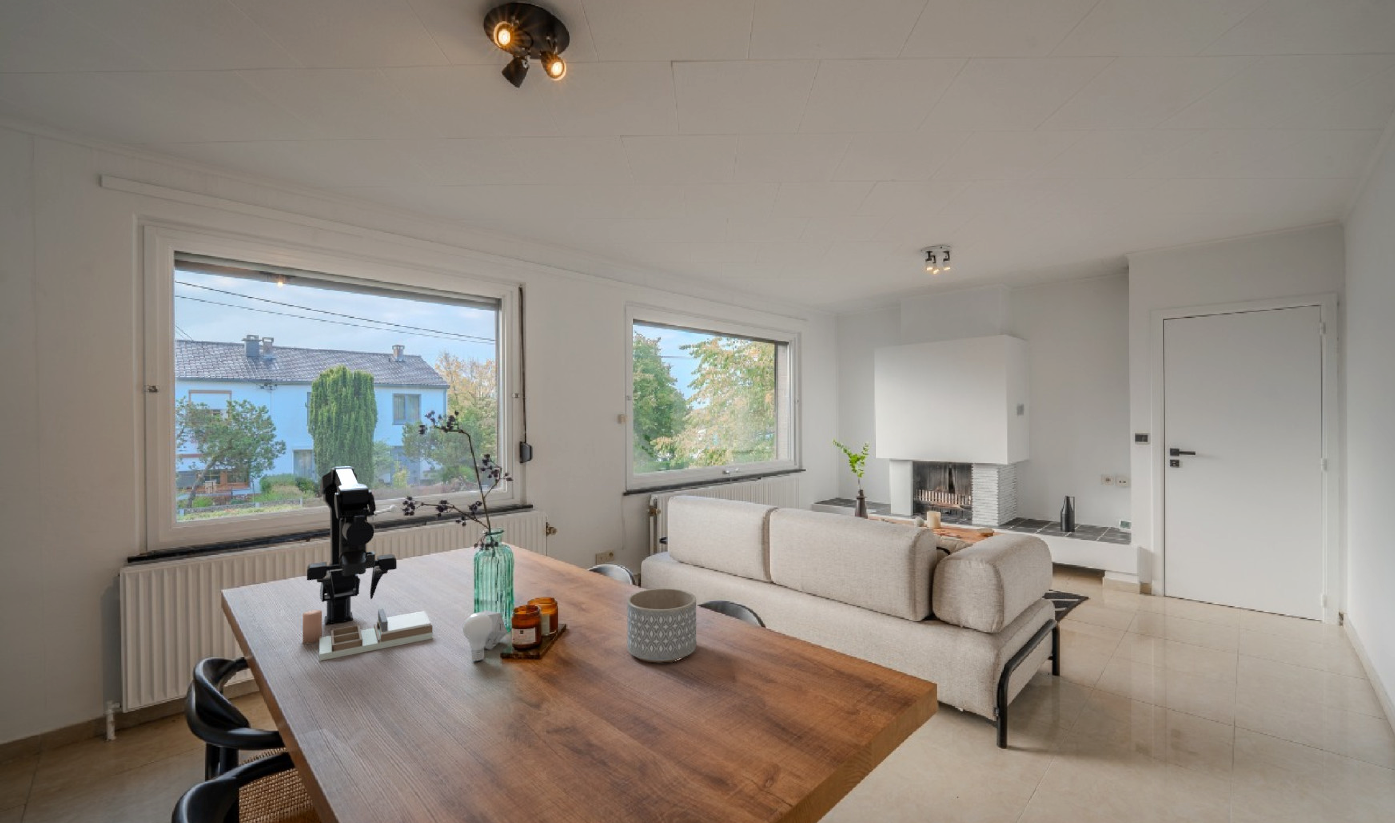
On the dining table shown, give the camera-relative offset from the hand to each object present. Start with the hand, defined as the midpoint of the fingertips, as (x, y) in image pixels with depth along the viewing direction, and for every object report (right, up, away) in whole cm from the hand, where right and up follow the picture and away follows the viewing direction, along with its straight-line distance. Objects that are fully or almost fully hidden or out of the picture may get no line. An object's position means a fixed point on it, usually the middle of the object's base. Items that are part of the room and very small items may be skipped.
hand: (352, 601), depth 141 cm
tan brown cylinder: (-12, -11, +3) cm, 17 cm away
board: (+4, -11, +3) cm, 12 cm away
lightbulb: (+34, -11, -9) cm, 37 cm away
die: (+33, -11, 0) cm, 35 cm away
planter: (+77, -11, -4) cm, 77 cm away
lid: (+10, -8, +6) cm, 14 cm away
